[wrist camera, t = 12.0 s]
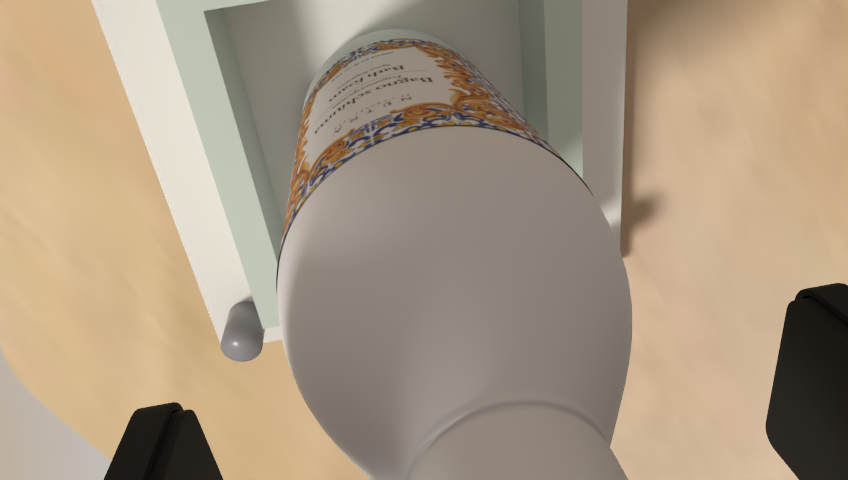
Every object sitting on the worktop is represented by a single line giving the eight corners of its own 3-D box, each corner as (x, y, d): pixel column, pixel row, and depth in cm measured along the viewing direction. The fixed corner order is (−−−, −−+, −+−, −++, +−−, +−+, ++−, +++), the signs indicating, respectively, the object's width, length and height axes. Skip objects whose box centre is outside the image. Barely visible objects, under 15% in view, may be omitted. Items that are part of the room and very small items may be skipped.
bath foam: (449, -8, 21) (1069, 389, 3) (510, 164, 24) (979, 817, 7) (267, 74, 21) (-38, 804, 4) (352, 232, 25) (400, 1007, 7)
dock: (620, -204, 20) (682, -230, 16) (610, 265, 28) (649, 314, 25) (58, -123, 19) (-6, -132, 15) (226, 336, 27) (210, 398, 24)
